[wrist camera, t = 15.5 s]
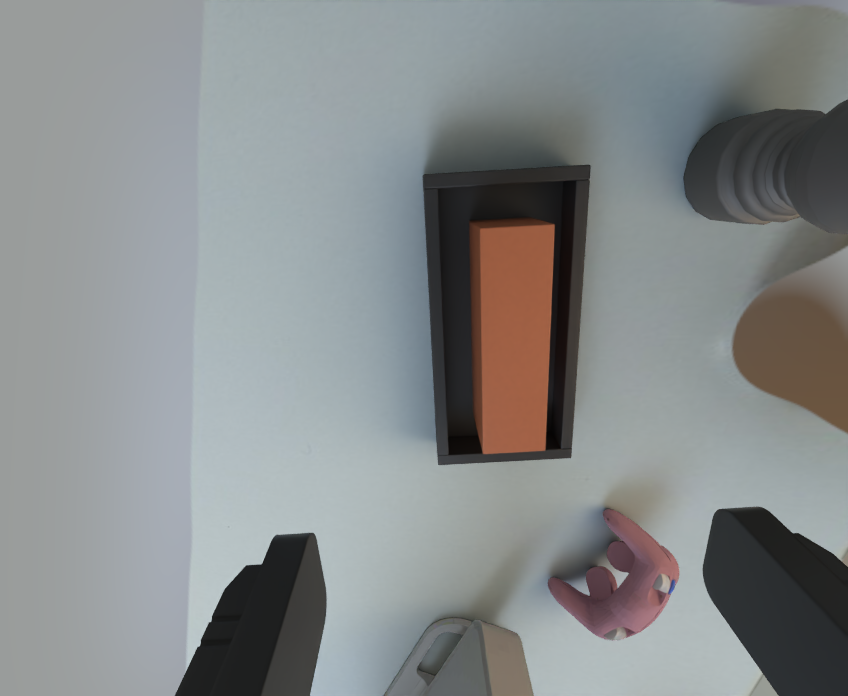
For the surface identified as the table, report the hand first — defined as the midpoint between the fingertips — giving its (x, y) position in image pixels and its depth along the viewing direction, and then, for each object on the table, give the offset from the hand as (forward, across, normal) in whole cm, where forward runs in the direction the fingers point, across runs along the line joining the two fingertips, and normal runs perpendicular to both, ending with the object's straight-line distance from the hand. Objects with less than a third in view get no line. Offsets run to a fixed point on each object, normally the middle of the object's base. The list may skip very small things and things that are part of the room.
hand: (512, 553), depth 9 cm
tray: (+23, -4, +2) cm, 24 cm away
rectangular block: (+23, -4, +2) cm, 23 cm away
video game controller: (+23, -12, +24) cm, 36 cm away
